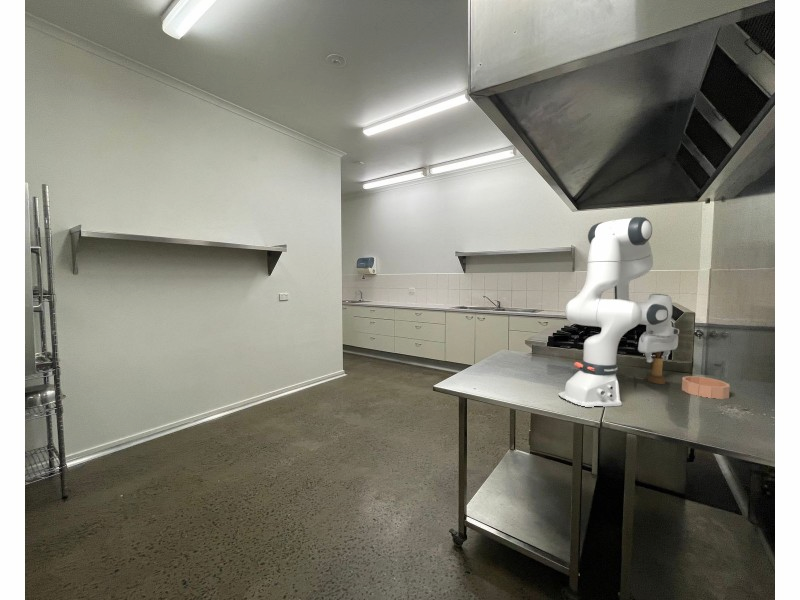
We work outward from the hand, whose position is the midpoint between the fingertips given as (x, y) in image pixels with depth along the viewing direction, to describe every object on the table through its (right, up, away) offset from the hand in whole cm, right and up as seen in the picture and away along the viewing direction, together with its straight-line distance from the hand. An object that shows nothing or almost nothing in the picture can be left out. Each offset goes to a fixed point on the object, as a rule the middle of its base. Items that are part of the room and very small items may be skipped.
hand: (657, 361), depth 148 cm
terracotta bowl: (+9, -10, -13) cm, 19 cm away
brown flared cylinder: (0, -10, +1) cm, 10 cm away
